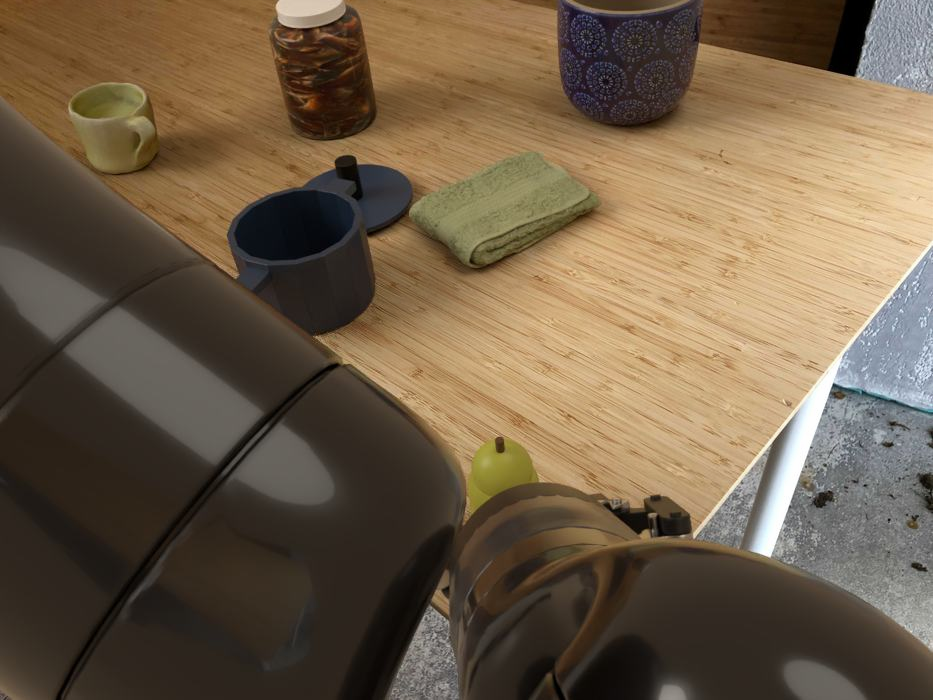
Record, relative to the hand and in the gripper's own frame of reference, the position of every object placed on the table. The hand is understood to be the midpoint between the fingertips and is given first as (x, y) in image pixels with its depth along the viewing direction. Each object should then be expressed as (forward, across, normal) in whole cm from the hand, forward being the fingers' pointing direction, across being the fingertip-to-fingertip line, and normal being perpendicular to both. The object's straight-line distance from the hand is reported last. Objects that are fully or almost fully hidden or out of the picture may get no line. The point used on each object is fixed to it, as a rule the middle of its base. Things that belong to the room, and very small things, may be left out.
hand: (518, 523), depth 46 cm
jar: (+64, +13, -44) cm, 78 cm away
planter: (+59, -24, -39) cm, 74 cm away
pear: (+16, 0, +3) cm, 17 cm away
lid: (+48, +11, -29) cm, 57 cm away
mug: (+60, +38, -40) cm, 82 cm away
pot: (+38, +15, -18) cm, 45 cm away
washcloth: (+44, -5, -24) cm, 51 cm away
